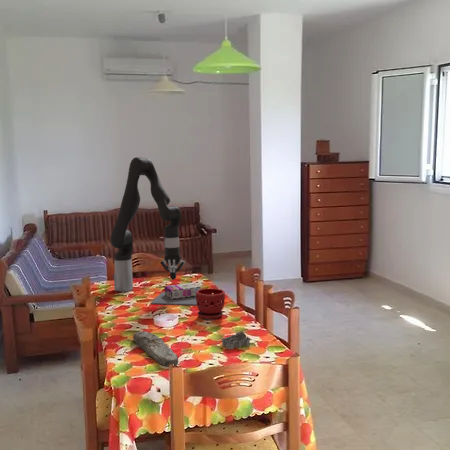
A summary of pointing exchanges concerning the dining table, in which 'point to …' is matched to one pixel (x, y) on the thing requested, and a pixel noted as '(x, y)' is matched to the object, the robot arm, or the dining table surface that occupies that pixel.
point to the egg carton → (236, 340)
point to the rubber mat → (174, 300)
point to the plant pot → (210, 303)
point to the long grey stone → (155, 348)
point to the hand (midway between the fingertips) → (173, 279)
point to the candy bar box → (181, 290)
